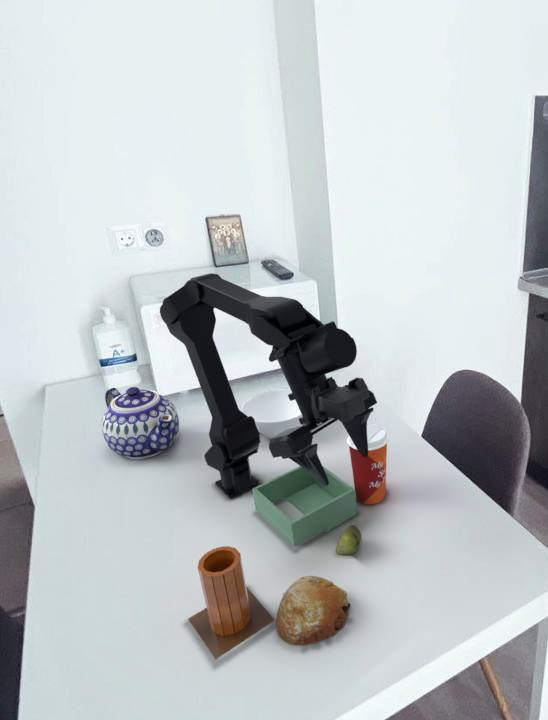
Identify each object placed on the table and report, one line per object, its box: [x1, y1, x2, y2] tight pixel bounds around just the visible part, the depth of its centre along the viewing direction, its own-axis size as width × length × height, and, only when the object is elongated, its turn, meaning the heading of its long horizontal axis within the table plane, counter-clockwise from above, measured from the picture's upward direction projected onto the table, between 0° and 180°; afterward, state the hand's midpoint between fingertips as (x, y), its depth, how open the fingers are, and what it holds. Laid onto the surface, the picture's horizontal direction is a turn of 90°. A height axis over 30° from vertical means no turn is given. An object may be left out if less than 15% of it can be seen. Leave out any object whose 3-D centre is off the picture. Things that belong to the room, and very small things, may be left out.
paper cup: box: [346, 423, 390, 505], centre depth 102 cm, size 8×8×14 cm
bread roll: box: [275, 575, 351, 646], centre depth 78 cm, size 10×10×8 cm
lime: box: [335, 523, 363, 556], centre depth 90 cm, size 4×5×5 cm
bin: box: [251, 465, 358, 547], centre depth 99 cm, size 13×13×6 cm
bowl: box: [241, 388, 304, 439], centre depth 125 cm, size 16×16×7 cm
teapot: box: [101, 386, 180, 460], centre depth 118 cm, size 25×15×15 cm, turn 53°
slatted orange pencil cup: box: [197, 545, 251, 636], centre depth 76 cm, size 5×5×11 cm
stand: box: [187, 586, 276, 661], centre depth 77 cm, size 9×9×6 cm
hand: (347, 470), depth 86 cm, fingers open, 9 cm apart
